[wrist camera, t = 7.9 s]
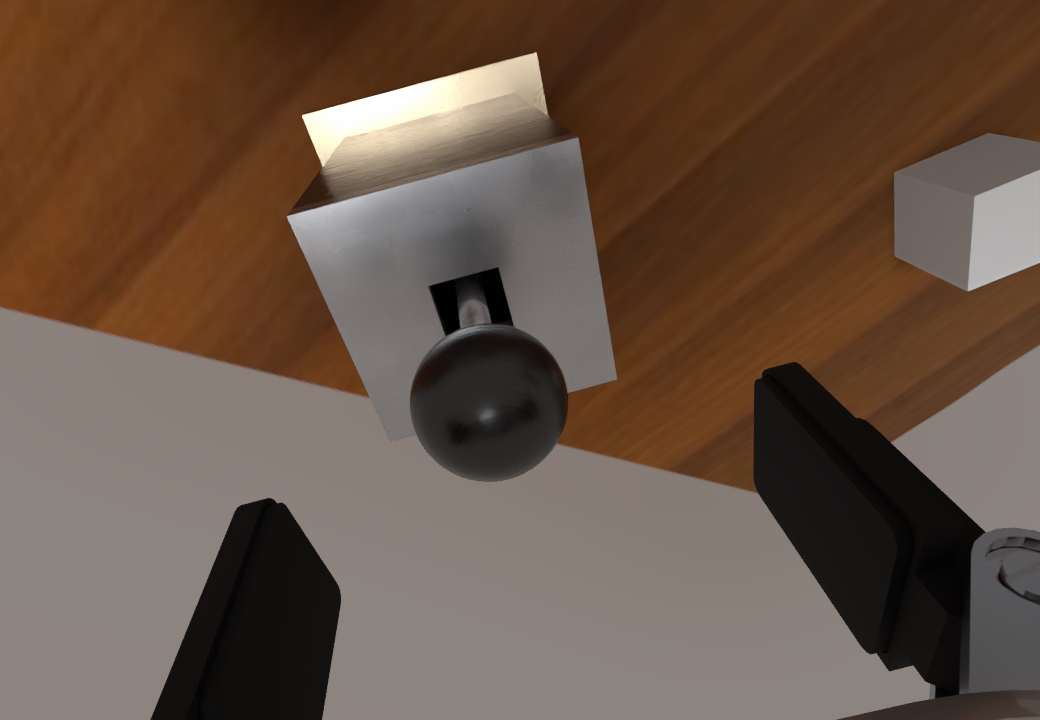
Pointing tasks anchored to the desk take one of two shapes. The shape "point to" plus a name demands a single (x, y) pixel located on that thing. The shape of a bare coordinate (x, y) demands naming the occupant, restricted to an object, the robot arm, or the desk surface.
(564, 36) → the desk surface
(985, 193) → the white cube
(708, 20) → the desk surface
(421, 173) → the grey slotted box
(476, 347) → the ball knob lever
